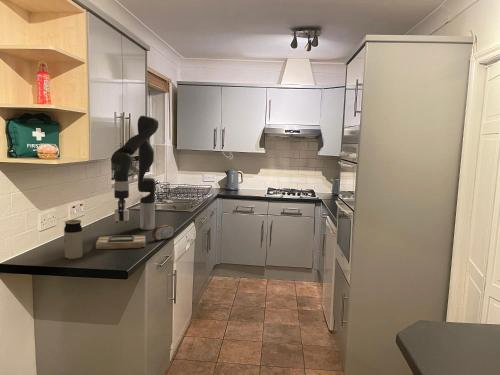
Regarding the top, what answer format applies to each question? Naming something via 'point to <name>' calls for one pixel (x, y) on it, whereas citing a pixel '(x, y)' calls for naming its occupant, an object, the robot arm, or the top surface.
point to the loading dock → (120, 242)
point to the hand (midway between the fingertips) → (121, 219)
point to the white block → (126, 215)
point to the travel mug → (73, 239)
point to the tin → (163, 232)
